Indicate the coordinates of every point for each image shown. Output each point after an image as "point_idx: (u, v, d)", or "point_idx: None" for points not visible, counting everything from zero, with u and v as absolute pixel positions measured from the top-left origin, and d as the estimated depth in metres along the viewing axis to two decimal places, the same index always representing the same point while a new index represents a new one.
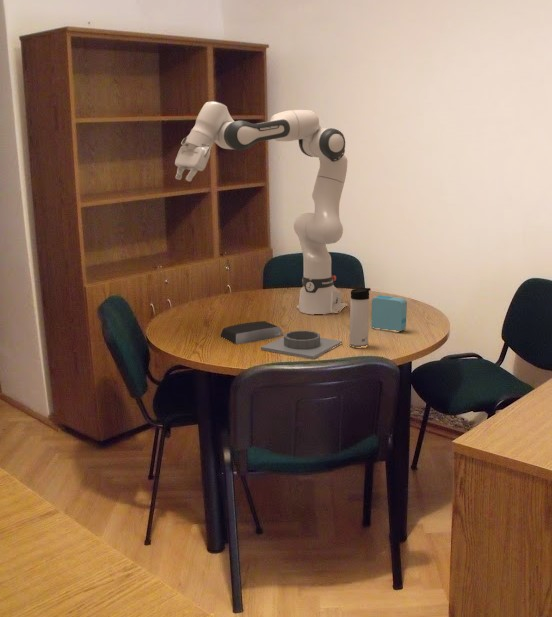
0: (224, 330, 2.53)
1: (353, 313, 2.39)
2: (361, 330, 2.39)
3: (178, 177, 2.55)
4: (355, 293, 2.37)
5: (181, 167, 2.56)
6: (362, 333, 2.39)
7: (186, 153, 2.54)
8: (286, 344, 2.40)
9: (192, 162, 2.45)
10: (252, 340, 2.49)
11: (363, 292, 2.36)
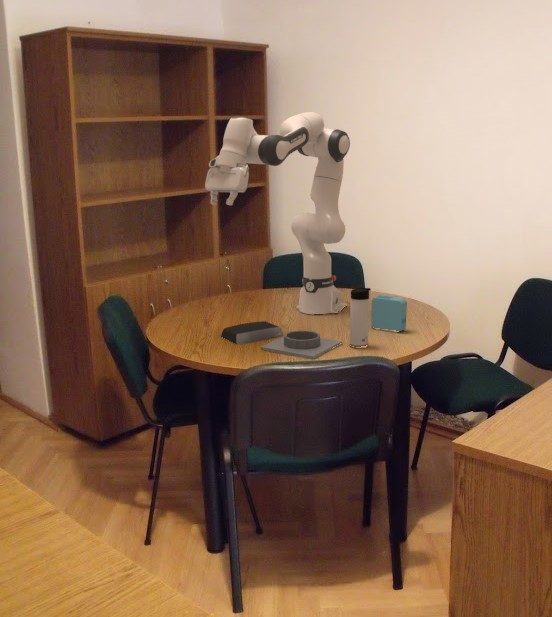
0: (225, 330, 2.53)
1: (353, 313, 2.39)
2: (361, 330, 2.39)
3: (214, 202, 2.41)
4: (355, 293, 2.37)
5: (214, 191, 2.42)
6: (362, 333, 2.39)
7: (218, 175, 2.40)
8: (286, 344, 2.40)
9: (231, 185, 2.32)
10: (253, 340, 2.49)
11: (363, 292, 2.36)
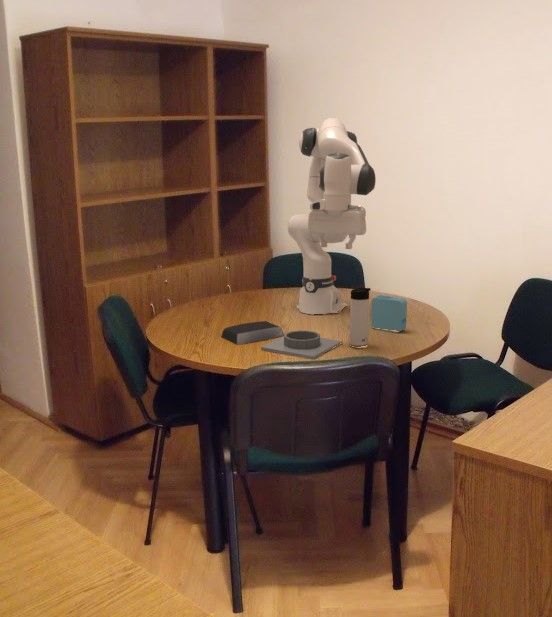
0: (225, 330, 2.53)
1: (353, 313, 2.39)
2: (361, 330, 2.39)
3: (325, 245, 2.35)
4: (355, 293, 2.37)
5: (322, 233, 2.35)
6: (362, 333, 2.39)
7: (325, 218, 2.32)
8: (286, 344, 2.40)
9: (350, 230, 2.27)
10: (253, 340, 2.48)
11: (363, 292, 2.36)
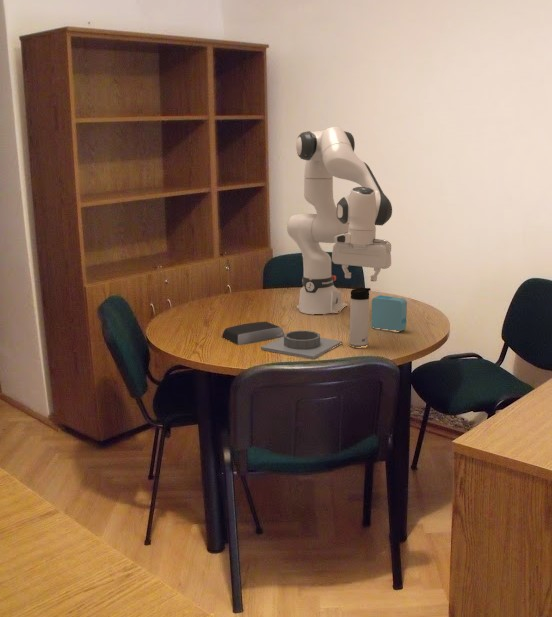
0: (226, 331, 2.53)
1: (353, 313, 2.39)
2: (361, 330, 2.39)
3: (349, 276, 2.40)
4: (355, 293, 2.37)
5: (346, 265, 2.39)
6: (362, 333, 2.39)
7: (350, 251, 2.36)
8: (286, 344, 2.40)
9: (376, 264, 2.32)
10: (254, 341, 2.48)
11: (363, 292, 2.36)
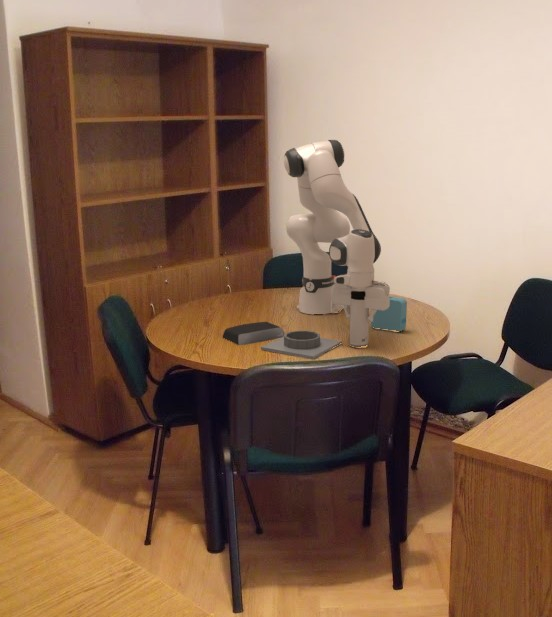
0: (226, 331, 2.52)
1: (354, 313, 2.38)
2: (361, 330, 2.39)
3: None
4: (355, 293, 2.37)
5: (347, 305, 2.42)
6: (362, 333, 2.39)
7: (349, 292, 2.40)
8: (286, 344, 2.40)
9: (375, 305, 2.35)
10: (255, 341, 2.48)
11: (363, 292, 2.36)
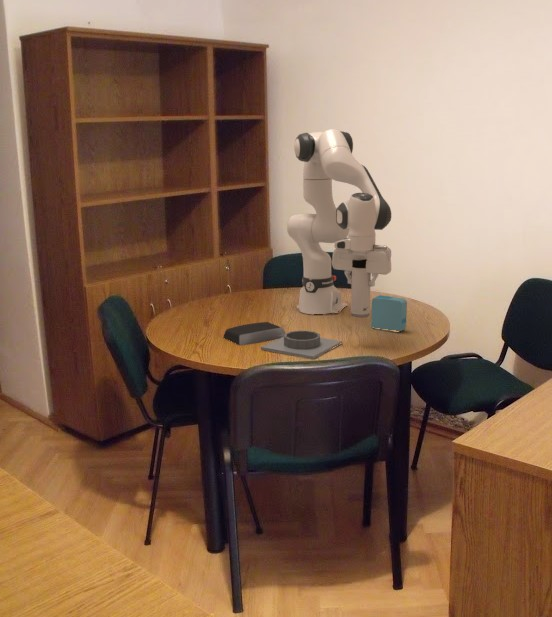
0: (227, 331, 2.52)
1: (355, 282, 2.36)
2: (363, 299, 2.37)
3: None
4: (356, 261, 2.34)
5: (349, 270, 2.39)
6: (364, 302, 2.37)
7: (350, 257, 2.37)
8: (286, 344, 2.40)
9: (376, 270, 2.32)
10: (256, 341, 2.48)
11: (364, 260, 2.34)
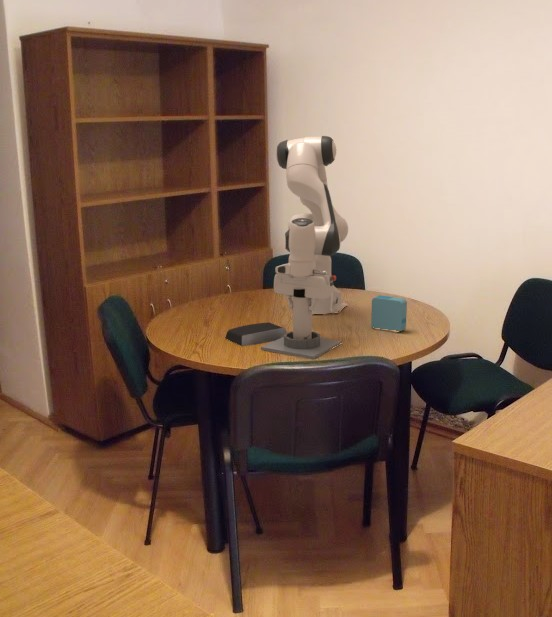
0: (229, 332, 2.51)
1: (295, 311, 2.38)
2: (303, 328, 2.38)
3: None
4: (296, 291, 2.36)
5: (290, 295, 2.40)
6: (304, 331, 2.39)
7: (290, 281, 2.38)
8: (286, 344, 2.40)
9: (315, 295, 2.33)
10: (258, 342, 2.47)
11: (304, 290, 2.35)
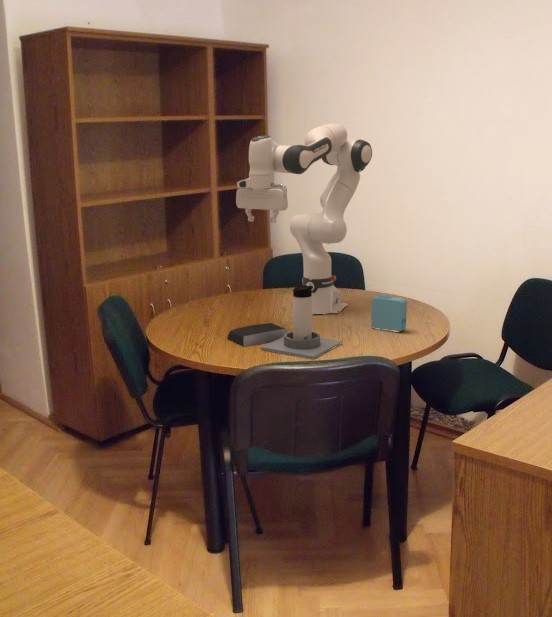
0: (231, 333, 2.50)
1: (295, 311, 2.38)
2: (303, 328, 2.38)
3: (252, 219, 2.60)
4: (296, 291, 2.36)
5: (249, 209, 2.59)
6: (304, 331, 2.39)
7: (251, 195, 2.56)
8: (286, 344, 2.40)
9: (274, 206, 2.52)
10: (260, 342, 2.46)
11: (304, 290, 2.35)
